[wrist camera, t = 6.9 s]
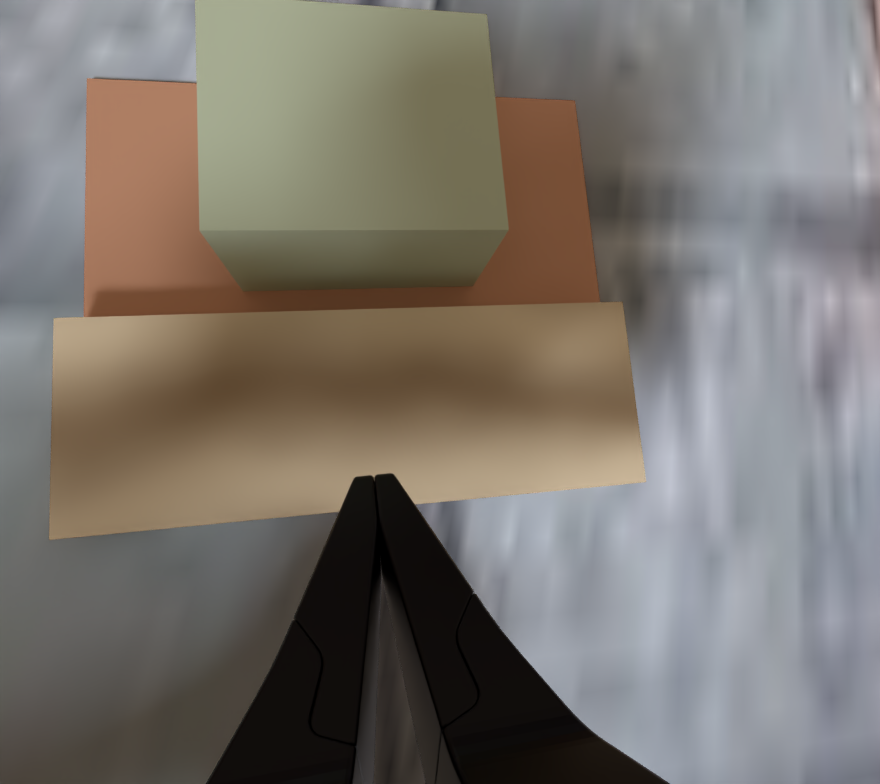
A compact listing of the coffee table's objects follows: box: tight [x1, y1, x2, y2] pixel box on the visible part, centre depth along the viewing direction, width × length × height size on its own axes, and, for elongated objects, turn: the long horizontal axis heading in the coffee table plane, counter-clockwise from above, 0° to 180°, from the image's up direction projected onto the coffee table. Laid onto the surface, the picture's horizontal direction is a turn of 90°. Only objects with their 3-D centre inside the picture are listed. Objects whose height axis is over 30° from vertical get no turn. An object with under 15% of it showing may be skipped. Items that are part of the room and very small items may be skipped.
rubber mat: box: [84, 78, 600, 317], centre depth 20 cm, size 10×20×1 cm, turn 94°
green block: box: [195, 0, 509, 291], centre depth 17 cm, size 5×9×8 cm
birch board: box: [49, 302, 646, 540], centre depth 18 cm, size 7×20×2 cm, turn 94°
